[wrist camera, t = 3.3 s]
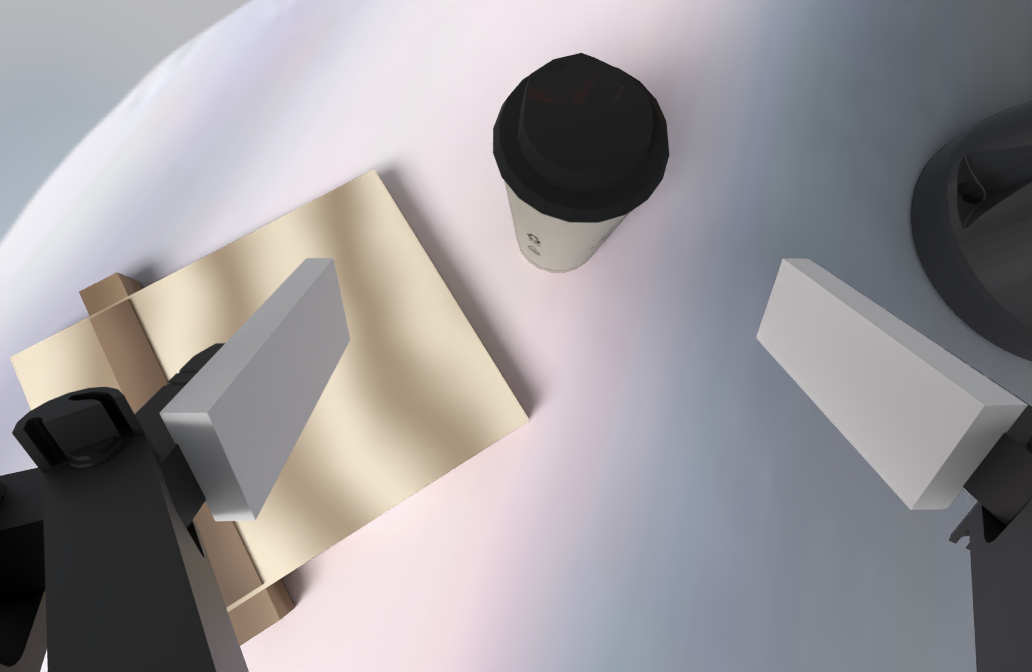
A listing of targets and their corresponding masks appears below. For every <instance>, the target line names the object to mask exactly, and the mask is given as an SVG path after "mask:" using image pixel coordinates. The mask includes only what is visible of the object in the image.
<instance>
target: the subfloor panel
mask: <svg viewBox="0 0 1032 672" xmlns="http://www.w3.org/2000/svg"><path fill="white" fill-rule="evenodd" d="M306 258H333V259H334V263H335V268H336V273H337V278H338V283H339V287H340V292H341V297H342V302H343V306H344V311H345V316H346V321H347V326H348V330H349V335H350V341H349V343H348V345H347V347H346V349H345V351H344V353H343V355H342V357H341V359H340V360H339V362H338V364H337V366H336V368H335V370H334V372H333V374H332V376H331V378H330V380H329V381H328V383H327V385H326V387H325V389H324V391H323V393H322V395H321V397H320V399H319V400H318V402H317V404H316V406H315V408H314V410H313V412H312V414H311V416H310V418H309V420H308V421H307V423H306V425H305V427H304V429H303V431H302V433H301V435H300V437H299V439H298V440H297V442H296V444H295V446H294V448H293V450H292V452H291V454H290V456H289V458H288V460H287V461H286V463H285V465H284V467H283V469H282V471H281V473H280V475H279V477H278V479H277V480H276V482H275V484H274V486H273V488H272V490H271V492H270V494H269V496H268V498H267V500H266V501H265V503H264V505H263V507H262V509H261V511H260V513H259V515H258V517H257V519H256V521H215V520H214V518H213V516H212V514H211V512H210V510H209V508H208V506H207V504H206V502H204V504H203V505H202V507H201V508H200V510H199V511H198V513H197V514H196V516H195V517H194V519H193V520H194V522H195V524H196V525H197V527H198V529H199V531H200V534H201V537H202V540H203V543H204V546H205V548H206V551H207V554H208V557H209V560H210V563H211V566H212V568H213V571H214V574H215V577H216V580H217V583H218V586H219V588H220V591H221V594H222V597H223V600H224V603H225V606H226V608H227V611H228V614H229V617H230V620H231V623H232V626H233V628H234V631H235V634H236V637H237V640H238V643H239V646H240V645H242V644H243V643H245V642H247V641H248V640H250V639H251V638H253V637H254V636H256V635H257V634H259V633H260V632H262V631H264V630H265V629H267V628H268V627H270V626H271V625H273V624H274V623H276V622H277V621H279V620H280V619H282V618H283V617H284V616H285V615H287V614H288V613H289V612H290V611H292V610H293V609H294V608H295V606H294V604H293V602H292V599H291V597H290V595H289V593H288V591H287V589H286V587H285V585H284V583H283V581H282V579H281V578H283V577H284V576H286V575H287V574H289V573H290V572H292V571H294V570H295V569H297V568H298V567H300V566H301V565H303V564H305V563H306V562H308V561H309V560H311V559H312V558H314V557H316V556H317V555H319V554H320V553H322V552H323V551H325V550H327V549H328V548H330V547H331V546H333V545H334V544H336V543H338V542H339V541H341V540H342V539H344V538H345V537H347V536H349V535H350V534H352V533H353V532H355V531H356V530H358V529H360V528H361V527H363V526H364V525H366V524H367V523H369V522H371V521H372V520H374V519H375V518H377V517H379V516H380V515H382V514H383V513H385V512H386V511H388V510H390V509H391V508H393V507H394V506H396V505H397V504H399V503H401V502H402V501H404V500H405V499H407V498H408V497H410V496H412V495H413V494H415V493H416V492H418V491H419V490H421V489H423V488H424V487H426V486H427V485H429V484H430V483H432V482H434V481H435V480H437V479H438V478H440V477H441V476H443V475H445V474H446V473H448V472H449V471H451V470H452V469H454V468H456V467H457V466H459V465H460V464H462V463H463V462H465V461H467V460H468V459H470V458H471V457H473V456H474V455H476V454H478V453H479V452H481V451H482V450H484V449H485V448H487V447H489V446H490V445H492V444H493V443H495V442H497V441H498V440H500V439H501V438H503V437H504V436H506V435H508V434H509V433H511V432H512V431H514V430H515V429H517V428H519V427H520V426H522V425H523V424H525V423H526V422H528V421H529V419H528V417H527V415H526V414H525V412H524V410H523V409H522V407H521V406H520V404H519V402H518V401H517V399H516V398H515V396H514V394H513V393H512V391H511V389H510V388H509V386H508V385H507V383H506V381H505V380H504V378H503V377H502V375H501V373H500V372H499V370H498V368H497V367H496V365H495V364H494V362H493V360H492V359H491V357H490V355H489V354H488V352H487V351H486V349H485V347H484V346H483V344H482V343H481V341H480V339H479V338H478V336H477V334H476V333H475V331H474V330H473V328H472V326H471V325H470V323H469V322H468V320H467V318H466V317H465V315H464V313H463V312H462V310H461V309H460V307H459V305H458V304H457V302H456V301H455V299H454V297H453V296H452V294H451V292H450V291H449V289H448V288H447V286H446V284H445V283H444V281H443V280H442V278H441V276H440V275H439V273H438V271H437V270H436V268H435V267H434V265H433V263H432V262H431V260H430V259H429V257H428V255H427V254H426V252H425V250H424V249H423V247H422V246H421V244H420V242H419V241H418V239H417V238H416V236H415V234H414V233H413V231H412V229H411V228H410V226H409V225H408V223H407V221H406V220H405V218H404V216H403V215H402V213H401V212H400V210H399V208H398V207H397V205H396V204H395V202H394V200H393V199H392V197H391V195H390V194H389V192H388V191H387V189H386V187H385V186H384V184H383V183H382V181H381V179H380V178H379V176H378V174H377V173H376V171H375V170H374V169H373V170H371V171H369V172H368V173H366V174H364V175H362V176H360V177H358V178H356V179H354V180H352V181H350V182H348V183H346V184H344V185H342V186H341V187H339V188H337V189H335V190H333V191H331V192H329V193H327V194H325V195H323V196H321V197H319V198H317V199H315V200H313V201H312V202H310V203H308V204H306V205H304V206H302V207H300V208H298V209H296V210H294V211H292V212H290V213H288V214H286V215H284V216H283V217H281V218H279V219H277V220H275V221H273V222H271V223H269V224H267V225H265V226H263V227H261V228H259V229H257V230H256V231H254V232H252V233H250V234H248V235H246V236H244V237H242V238H240V239H238V240H236V241H234V242H232V243H230V244H228V245H227V246H225V247H223V248H221V249H219V250H217V251H215V252H213V253H211V254H209V255H207V256H205V257H203V258H201V259H199V260H198V261H196V262H194V263H192V264H190V265H188V266H186V267H184V268H182V269H180V270H178V271H176V272H174V273H172V274H170V275H169V276H167V277H165V278H163V279H161V280H159V281H157V282H155V283H153V284H151V285H149V286H147V287H145V288H142V286H141V284H140V282H138V281H136V280H134V279H131V278H129V277H127V276H124V275H122V274H120V273H115V274H113V275H111V276H109V277H107V278H105V279H103V280H101V281H99V282H97V283H95V284H93V285H91V286H89V287H88V288H86V289H84V290H82V291H80V292H79V293H80V295H81V298H82V300H83V302H84V304H85V307H86V309H87V311H88V313H89V315H90V316H89V317H87V318H85V319H84V320H82V321H80V322H78V323H76V324H74V325H72V326H70V327H68V328H66V329H64V330H62V331H60V332H58V333H56V334H55V335H53V336H51V337H49V338H47V339H45V340H43V341H41V342H39V343H37V344H35V345H33V346H31V347H29V348H28V349H26V350H24V351H22V352H20V353H18V354H16V355H14V356H12V357H10V359H11V361H12V364H13V366H14V369H15V371H16V373H17V376H18V378H19V381H20V383H21V386H22V388H23V391H24V393H25V396H26V398H27V401H28V403H29V406H30V408H31V410H33V409H35V408H36V407H38V406H40V405H42V404H43V403H45V402H47V401H49V400H51V399H54V398H57V397H59V396H62V395H64V394H67V393H70V392H74V391H78V390H82V389H86V388H93V387H110V388H115V389H119V390H120V391H121V393H122V394H123V395H124V396H125V398H126V400H127V401H128V403H129V405H130V407H131V409H132V410H133V412H134V414H135V413H136V412H137V411H138V410H139V409H140V408H141V407H142V406H143V405H145V404H146V403H147V402H148V401H149V400H150V399H151V398H152V397H153V396H154V395H155V394H156V393H157V392H158V391H159V390H160V389H161V388H162V387H163V386H167V382H168V381H169V380H170V379H171V378H172V377H173V376H174V375H175V374H176V373H179V370H180V369H181V368H182V367H183V366H184V365H185V364H186V363H187V362H188V361H189V360H190V359H191V358H192V357H193V356H194V355H196V354H198V353H200V352H201V351H203V350H205V349H207V348H208V347H210V346H212V345H214V344H215V343H226V342H227V341H228V340H229V339H230V338H231V337H232V336H233V335H234V334H235V333H236V332H237V331H238V330H239V328H240V327H241V326H242V325H243V324H244V323H245V322H246V321H247V320H248V319H249V318H250V317H251V316H252V315H253V314H254V313H255V312H256V311H257V310H258V308H259V307H260V306H261V305H262V304H263V303H264V302H265V301H266V300H267V299H268V298H269V297H270V296H271V295H272V294H273V293H274V292H275V291H276V290H277V288H278V287H279V286H280V285H281V284H282V283H283V282H284V281H285V280H286V279H287V278H288V277H289V276H290V275H291V274H292V273H293V272H294V271H295V270H296V268H297V267H298V266H299V265H300V264H301V263H302V262H303V261H304V260H305V259H306Z"/></svg>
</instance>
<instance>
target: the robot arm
mask: <svg viewBox="0 0 1032 672" xmlns="http://www.w3.org/2000/svg"><path fill="white" fill-rule="evenodd" d="M912 227H913V235H914V240H915V244H916V248H917V251H918V254H919V257H920V260H921V262H922V264H923V267H924V269H925V271H926V273H927V275H928V277H929V279H930V280H931V282H932V284H933V285H934V287H935V289H936V290H937V291H938V293H939V294H940V296H941V297H942V298H943V300H944V301H945V302H946V303H947V305H948V306H949V307H950V308H951V309H952V310H953V311H954V312H955V314H956V315H958V316H959V317H960V318H961V319H962V320H963V321H964V322H965V323H966V324H967V325H968V326H969V327H971V328H972V329H973V330H974V331H976V332H977V333H978V334H979V335H981V336H982V337H984V338H985V339H987V340H988V341H990V342H991V343H993V344H995V345H996V346H998V347H1000V348H1002V349H1004V350H1006V351H1008V352H1010V353H1012V354H1014V355H1017V356H1019V357H1022V358H1024V359H1027V360H1030V361H1032V101H1029V102H1026V103H1023V104H1021V105H1018V106H1015V107H1012V108H1009V109H1007V110H1004V111H1002V112H1000V113H997V114H995V115H993V116H991V117H989V118H987V119H986V120H984V121H982V122H980V123H979V124H977V125H976V126H974V127H973V128H971V129H970V130H968V131H967V132H965V133H963V134H962V135H960V136H959V137H957V138H956V139H954V140H953V141H951V142H950V143H949V144H947V145H946V146H944V147H943V148H942V149H941V150H940V151H938V152H937V154H936V155H935V156H934V157H933V158H932V159H931V160H930V161H929V163H928V164H927V166H926V167H925V169H924V170H923V172H922V174H921V176H920V178H919V181H918V183H917V186H916V189H915V193H914V198H913V205H912ZM756 338H757V339H758V340H759V342H760V343H761V344H762V345H763V346H764V347H765V348H766V349H767V350H768V352H769V353H770V354H771V355H772V356H773V357H774V358H775V359H776V360H777V362H778V363H779V364H780V365H781V366H782V367H783V368H784V369H785V371H786V372H787V373H788V374H789V375H790V376H791V377H792V378H793V379H794V381H795V382H796V383H797V384H798V385H799V386H800V387H801V388H802V389H803V391H804V392H805V393H806V394H807V395H808V396H809V397H810V398H811V399H812V401H813V402H814V403H815V404H816V405H817V406H818V407H819V408H820V409H821V411H822V412H823V413H824V414H825V415H826V416H827V417H828V418H829V419H830V421H831V422H832V423H833V424H834V425H835V426H836V427H837V428H838V430H839V431H840V432H841V433H842V434H843V435H844V436H845V437H846V438H847V440H848V441H849V442H850V443H851V444H852V445H853V446H854V447H855V448H856V450H857V451H858V452H859V453H860V454H861V455H862V456H863V457H864V458H865V460H866V461H867V462H868V463H869V464H870V465H871V466H872V467H873V468H874V470H875V471H876V472H877V473H878V474H879V475H880V476H881V477H882V478H883V480H884V481H885V482H886V483H887V484H888V485H889V486H890V487H891V489H892V490H893V491H894V492H895V493H896V494H897V495H898V496H899V497H900V499H901V500H902V501H903V502H904V503H905V504H906V505H907V506H908V507H909V509H910V510H930V509H948V507H949V506H950V505H951V504H952V502H953V501H954V500H955V498H956V497H957V496H958V495H959V493H960V492H961V491H962V489H963V488H965V489H966V490H967V491H968V492H969V493H970V494H971V495H972V496H973V497H974V498H975V499H976V500H978V502H977V503H976V504H975V506H974V507H973V508H972V509H971V511H970V512H969V513H968V514H967V515H966V517H965V518H964V519H963V520H962V522H961V523H960V524H959V525H958V526H957V528H956V529H955V530H954V531H953V533H952V534H951V536H950V539H949V541H951V542H953V543H957V541H958V540H959V539H960V538H961V537H963V536H970V543H969V544H968V545H967V547H966V548H967V549H969V550H970V554H971V572H972V591H973V609H974V627H975V646H976V664H977V672H1032V406H1030V405H1029V404H1027V403H1026V402H1024V401H1023V400H1021V399H1020V398H1018V397H1017V396H1015V395H1013V394H1012V393H1010V392H1009V391H1007V390H1006V389H1004V388H1003V387H1001V386H1000V385H998V384H997V383H995V382H994V381H992V380H991V379H989V378H987V377H985V376H984V375H983V374H982V373H980V372H979V371H977V370H976V369H974V368H973V367H971V366H969V365H967V363H965V362H964V361H962V360H961V359H959V358H958V357H956V356H955V355H953V354H952V353H950V352H949V351H947V350H945V349H943V348H942V347H940V346H939V345H937V344H936V343H934V342H933V341H931V340H930V339H928V338H927V337H925V336H924V335H922V334H921V333H919V332H918V331H916V330H915V329H913V328H912V327H910V326H909V325H907V324H906V323H904V322H903V321H901V320H900V319H898V318H897V317H895V316H894V315H892V314H891V313H889V312H888V311H886V310H885V309H883V308H882V307H880V306H879V305H877V304H876V303H874V302H873V301H871V300H870V299H868V298H867V297H865V296H864V295H862V294H861V293H859V292H858V291H856V290H855V289H853V288H852V287H850V286H849V285H847V284H846V283H844V282H843V281H841V280H840V279H838V278H837V277H835V276H834V275H832V274H831V273H829V272H828V271H826V270H825V269H823V268H822V267H820V266H819V265H817V264H816V263H814V262H813V261H811V260H810V259H783V260H782V263H781V266H780V269H779V272H778V275H777V278H776V281H775V283H774V286H773V289H772V292H771V295H770V298H769V301H768V304H767V307H766V310H765V313H764V316H763V319H762V322H761V325H760V328H759V331H758V334H757V337H756ZM349 341H350V335H349V330H348V326H347V321H346V316H345V311H344V306H343V302H342V297H341V292H340V287H339V283H338V278H337V273H336V268H335V263H334V259H333V258H306V259H305V260H304V261H303V262H302V263H301V264H300V265H299V266H298V267H297V268H296V270H295V271H294V272H293V273H292V274H291V275H290V276H289V277H288V278H287V279H286V280H285V281H284V282H283V283H282V284H281V285H280V286H279V287H278V288H277V290H276V291H275V292H274V293H273V294H272V295H271V296H270V297H269V298H268V299H267V300H266V301H265V302H264V303H263V304H262V305H261V306H260V307H259V308H258V310H257V311H256V312H255V313H254V314H253V315H252V316H251V317H250V318H249V319H248V320H247V321H246V322H245V323H244V324H243V325H242V326H241V327H240V328H239V330H238V331H237V332H236V333H235V334H234V335H233V336H232V337H231V338H230V339H229V340H228V341H227V342H226V343H215V344H214V345H212V346H210V347H208V348H207V349H205V350H203V351H201V352H200V353H198V354H196V355H194V356H193V357H192V358H191V359H190V360H189V361H188V362H187V363H186V364H185V365H184V366H183V367H182V368H181V369H180V370H179V373H176V374H175V375H174V376H173V377H172V378H171V379H170V380H169V381H168V382H167V386H163V387H162V388H161V389H160V390H159V391H158V392H157V393H156V394H155V395H154V396H153V397H152V398H151V399H150V400H149V401H148V402H147V403H146V404H145V405H143V406H142V407H141V408H140V409H139V410H138V411H137V412H136V413H135V414H134V412H133V410H132V409H131V407H130V405H129V403H128V401H127V400H126V398H125V396H124V395H123V394H122V393H121V391H120V390H119V389H115V388H110V387H93V388H86V389H82V390H78V391H74V392H70V393H67V394H64V395H62V396H59V397H57V398H54V399H51V400H49V401H47V402H45V403H43V404H42V405H40V406H38V407H36V408H35V409H33V410H31V411H30V412H28V413H27V414H26V415H25V416H24V417H23V418H22V419H20V420H19V421H18V422H17V424H16V426H15V428H14V430H13V432H12V434H13V435H14V436H15V438H16V439H17V440H18V441H19V443H20V444H21V445H22V447H23V448H24V449H25V451H26V452H27V453H28V455H29V456H30V457H31V459H32V460H33V461H34V462H35V464H36V465H37V466H38V468H34V469H30V470H25V471H21V472H16V473H11V474H7V475H2V476H0V672H40V670H41V666H42V663H43V660H44V657H45V653H46V650H47V658H48V672H249V671H248V668H247V666H246V663H245V660H244V657H243V654H242V651H241V648H240V646H239V643H238V640H237V637H236V634H235V631H234V628H233V626H232V623H231V620H230V617H229V614H228V611H227V608H226V606H225V603H224V600H223V597H222V594H221V591H220V588H219V586H218V583H217V580H216V577H215V574H214V571H213V568H212V566H211V563H210V560H209V557H208V554H207V551H206V548H205V546H204V543H203V540H202V537H201V534H200V531H199V529H198V527H197V525H196V524H195V522H194V520H193V519H194V517H195V516H196V514H197V513H198V511H199V510H200V508H201V507H202V505H203V504H204V502H206V504H207V506H208V508H209V510H210V512H211V514H212V516H213V518H214V520H215V521H256V519H257V517H258V515H259V513H260V511H261V509H262V507H263V505H264V503H265V501H266V500H267V498H268V496H269V494H270V492H271V490H272V488H273V486H274V484H275V482H276V480H277V479H278V477H279V475H280V473H281V471H282V469H283V467H284V465H285V463H286V461H287V460H288V458H289V456H290V454H291V452H292V450H293V448H294V446H295V444H296V442H297V440H298V439H299V437H300V435H301V433H302V431H303V429H304V427H305V425H306V423H307V421H308V420H309V418H310V416H311V414H312V412H313V410H314V408H315V406H316V404H317V402H318V400H319V399H320V397H321V395H322V393H323V391H324V389H325V387H326V385H327V383H328V381H329V380H330V378H331V376H332V374H333V372H334V370H335V368H336V366H337V364H338V362H339V360H340V359H341V357H342V355H343V353H344V351H345V349H346V347H347V345H348V343H349Z"/></svg>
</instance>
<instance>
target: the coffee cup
mask: <svg viewBox="0 0 1032 672" xmlns="http://www.w3.org/2000/svg"><path fill="white" fill-rule="evenodd" d="M493 154H494V157H495V159H496V162H497V165H498V168H499V171H500V173H501V176H502V178H503V179H504V180H505V185H506V190H507V194H508V199H509V204H510V209H511V213H512V218H513V223H514V227H515V232H516V237H517V241H518V244H519V247H520V250H521V252H522V254H523V255H524V256H525V257H526V259H527V260H528V261H529V262H530V263H531V264H533V265H534V266H536V267H537V268H539V269H541V270H545V271H548V272H551V273H565V272H568V271H571V270H574V269H577V268H578V267H580V266H581V265H582V264H584V263H585V262H586V261H587V260H588V259H589V258H590V257H591V256H592V255H593V253H594V252H595V251H596V250H597V249H598V248H599V247H600V245H601V244H602V243H603V242H604V241H605V240H606V239H607V237H608V236H609V235H610V234H611V233H612V232H613V230H614V229H615V228H616V227H617V226H618V225H619V224H620V222H621V221H622V220H623V219H624V218H625V217H626V216H627V214H628V213H629V212H630V211H632V210H633V209H635V208H636V207H638V206H639V205H641V204H642V203H643V202H645V201H646V200H648V198H649V197H650V196H651V194H652V193H653V192H654V190H655V189H656V187H657V186H658V185H659V183H660V182H661V181H662V179H663V176H664V172H665V169H666V165H667V161H668V158H669V147H668V135H667V124H666V120H665V118H664V115H663V113H662V111H661V109H660V106H659V104H658V102H657V100H656V99H655V98H654V96H653V95H652V94H651V93H650V92H649V91H648V90H647V89H646V88H645V86H644V85H643V84H642V83H641V82H640V81H638V80H637V79H635V78H634V77H632V76H631V75H629V74H627V73H625V72H624V71H622V70H621V69H619V68H616V67H613V66H611V65H609V64H607V63H605V62H603V61H600V60H598V59H596V58H594V57H591V56H589V55H586V54H583V53H579V54H575V55H570V56H566V57H562V58H557V59H553V60H552V61H550V62H549V63H547V64H546V65H544V66H542V67H541V68H539V69H538V70H536V71H535V72H533V73H532V74H530V75H529V76H528V77H526V78H524V79H523V80H522V81H521V82H520V84H519V85H518V86H517V87H516V88H515V89H514V91H513V92H512V93H511V94H510V95H509V96H508V98H507V99H506V101H505V102H504V103H503V105H502V107H501V110H500V112H499V115H498V118H497V120H496V123H495V125H494V128H493Z"/></svg>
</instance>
